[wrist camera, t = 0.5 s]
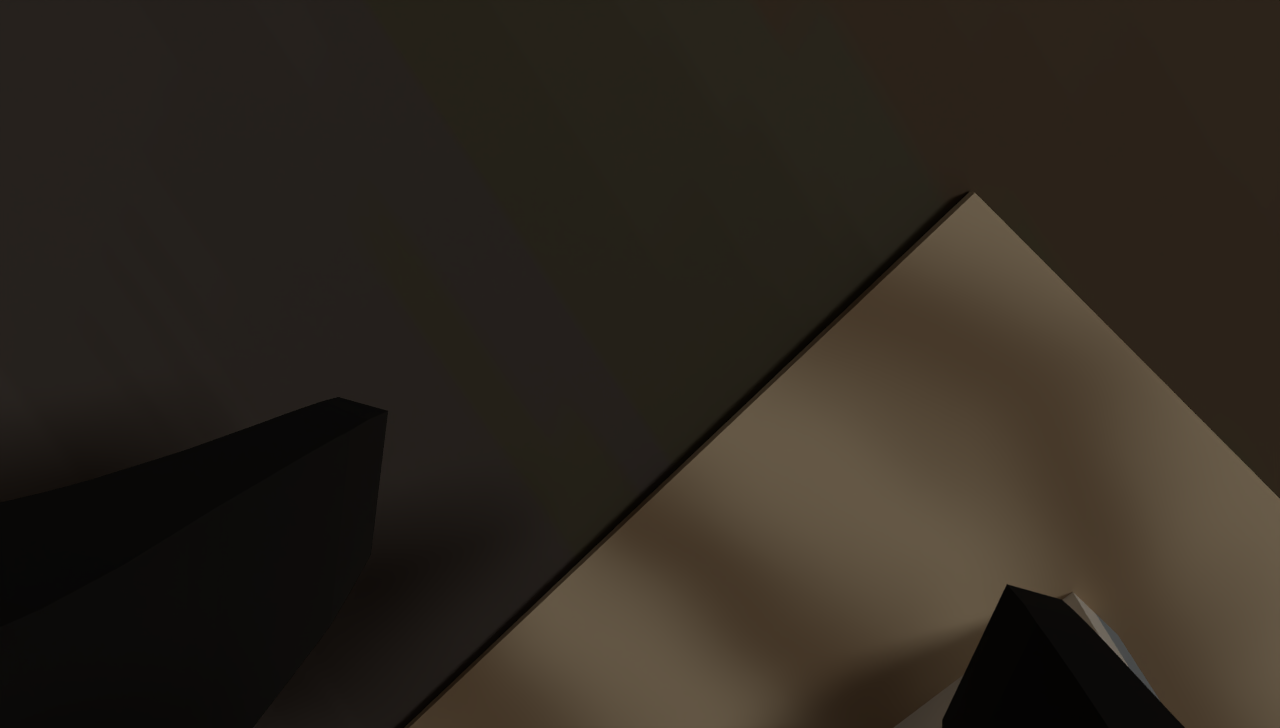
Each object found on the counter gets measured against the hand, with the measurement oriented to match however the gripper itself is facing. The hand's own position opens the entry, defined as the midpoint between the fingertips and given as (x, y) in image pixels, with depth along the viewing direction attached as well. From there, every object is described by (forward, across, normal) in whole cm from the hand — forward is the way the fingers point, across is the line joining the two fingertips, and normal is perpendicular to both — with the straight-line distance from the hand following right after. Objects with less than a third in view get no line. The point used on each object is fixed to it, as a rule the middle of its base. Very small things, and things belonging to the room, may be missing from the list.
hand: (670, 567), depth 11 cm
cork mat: (+10, -6, +10) cm, 15 cm away
